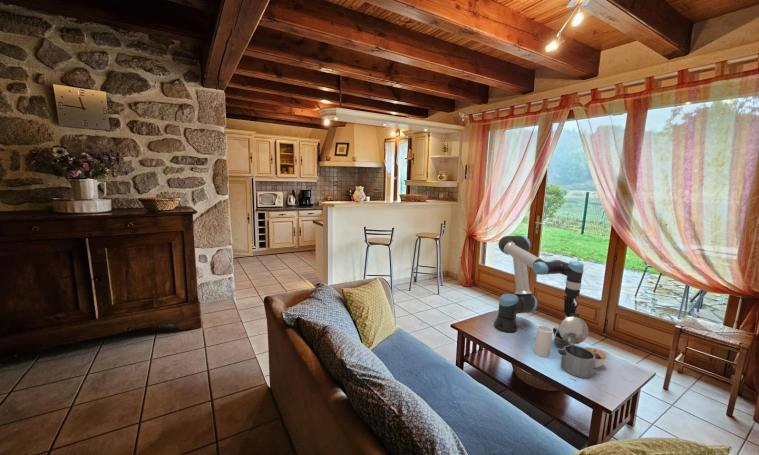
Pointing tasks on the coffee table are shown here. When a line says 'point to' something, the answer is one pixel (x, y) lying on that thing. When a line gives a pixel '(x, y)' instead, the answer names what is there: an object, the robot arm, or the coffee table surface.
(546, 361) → the coffee table surface
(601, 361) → the lidded jar
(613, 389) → the coffee table surface
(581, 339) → the lid
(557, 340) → the mug
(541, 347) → the cup
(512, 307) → the robot arm
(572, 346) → the pot
